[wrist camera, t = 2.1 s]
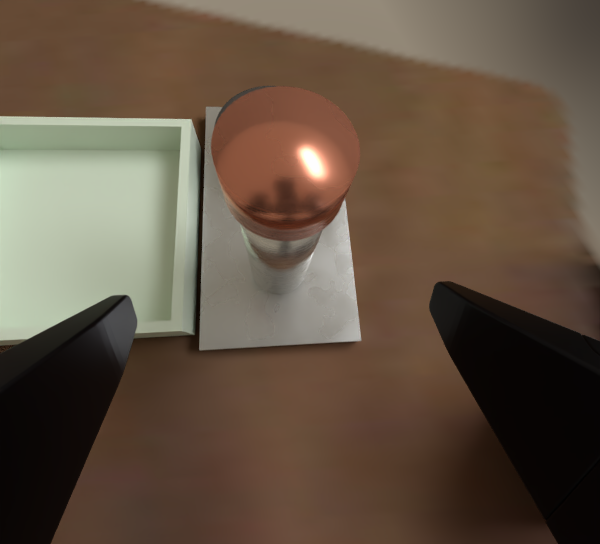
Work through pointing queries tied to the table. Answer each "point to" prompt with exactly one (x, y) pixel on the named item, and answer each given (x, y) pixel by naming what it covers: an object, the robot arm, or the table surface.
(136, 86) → the table surface
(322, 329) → the plate
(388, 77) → the table surface
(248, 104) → the glass spice jar
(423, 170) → the table surface
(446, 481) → the table surface
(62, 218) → the tray
